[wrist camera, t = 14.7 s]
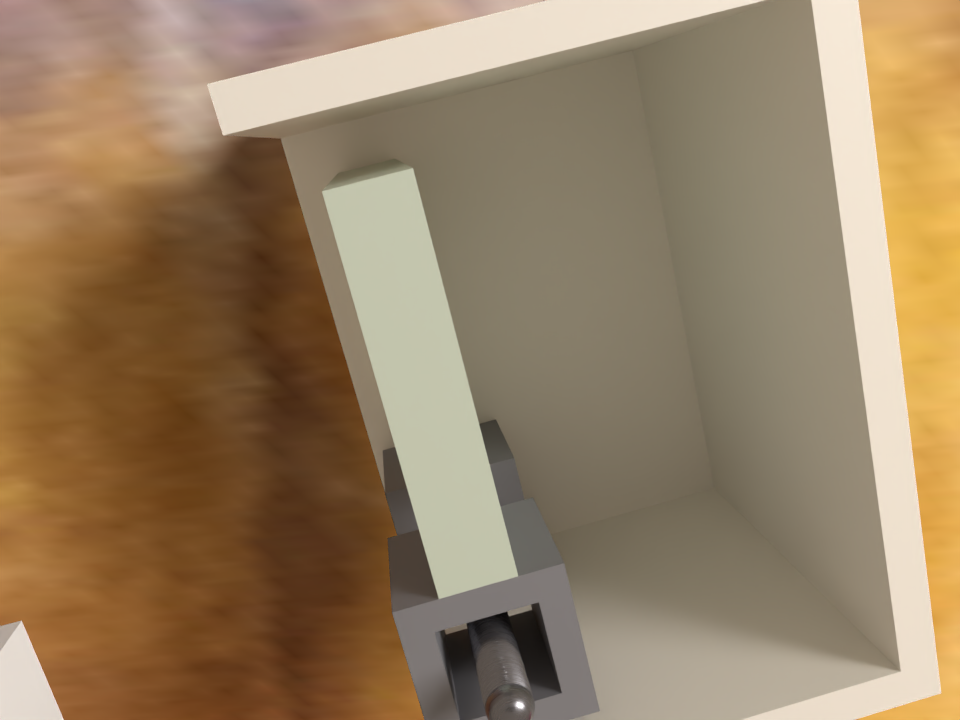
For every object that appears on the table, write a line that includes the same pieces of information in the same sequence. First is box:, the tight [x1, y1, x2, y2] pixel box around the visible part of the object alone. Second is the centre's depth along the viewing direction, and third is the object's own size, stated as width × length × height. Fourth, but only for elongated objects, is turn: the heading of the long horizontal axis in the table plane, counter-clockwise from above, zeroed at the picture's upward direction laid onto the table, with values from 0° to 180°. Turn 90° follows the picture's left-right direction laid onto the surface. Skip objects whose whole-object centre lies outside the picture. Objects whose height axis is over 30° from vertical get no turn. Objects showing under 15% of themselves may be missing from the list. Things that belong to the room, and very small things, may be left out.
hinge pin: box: [466, 612, 535, 720], centre depth 32 cm, size 1×1×17 cm
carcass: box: [207, 0, 941, 720], centre depth 32 cm, size 23×16×16 cm
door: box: [322, 159, 600, 720], centre depth 32 cm, size 17×5×14 cm, turn 14°
